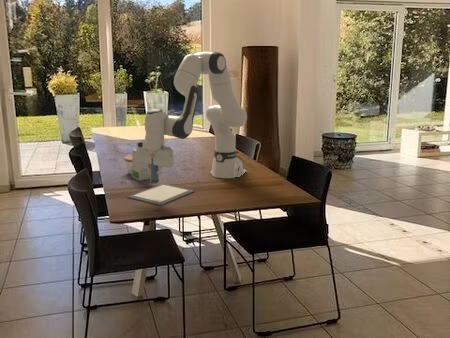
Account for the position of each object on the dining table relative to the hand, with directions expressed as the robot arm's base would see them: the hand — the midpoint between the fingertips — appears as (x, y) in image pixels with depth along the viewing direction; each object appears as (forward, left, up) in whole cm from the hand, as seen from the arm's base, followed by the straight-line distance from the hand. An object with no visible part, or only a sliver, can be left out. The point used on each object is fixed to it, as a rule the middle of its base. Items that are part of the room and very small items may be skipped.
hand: (154, 173), depth 218 cm
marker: (0, 0, -4) cm, 4 cm away
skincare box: (-21, -27, -12) cm, 36 cm away
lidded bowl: (-27, -36, -12) cm, 47 cm away
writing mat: (-5, 0, -12) cm, 13 cm away
